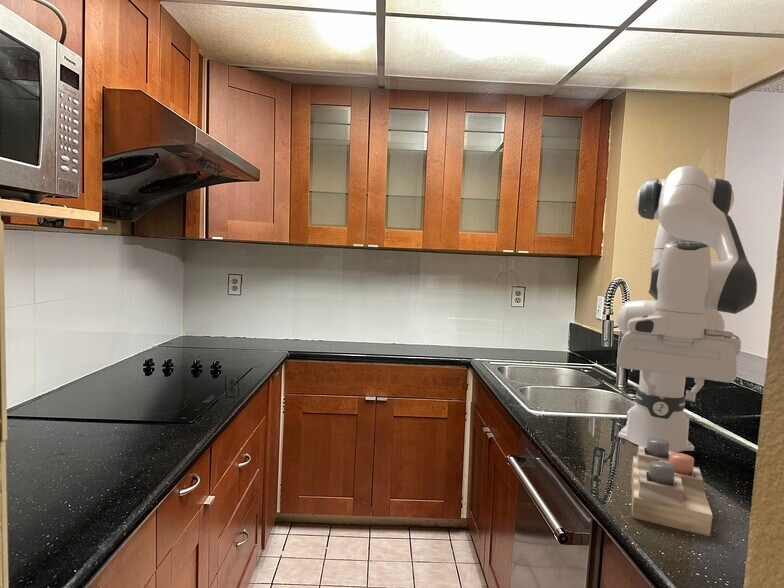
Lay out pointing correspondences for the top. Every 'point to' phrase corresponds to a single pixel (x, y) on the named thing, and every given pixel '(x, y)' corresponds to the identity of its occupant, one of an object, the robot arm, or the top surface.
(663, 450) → the button
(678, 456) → the middle button
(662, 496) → the control panel
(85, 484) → the top surface
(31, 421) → the top surface
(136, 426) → the top surface
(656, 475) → the button
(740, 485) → the top surface
